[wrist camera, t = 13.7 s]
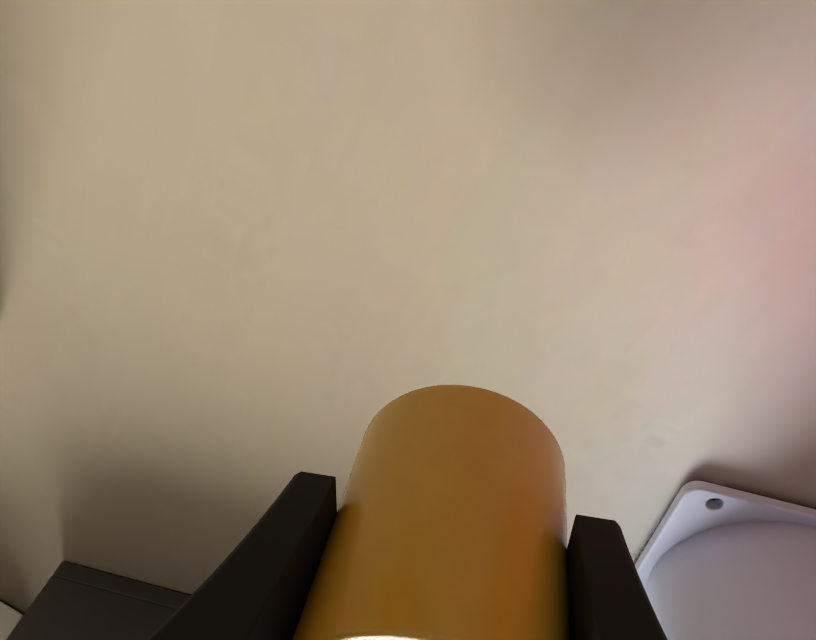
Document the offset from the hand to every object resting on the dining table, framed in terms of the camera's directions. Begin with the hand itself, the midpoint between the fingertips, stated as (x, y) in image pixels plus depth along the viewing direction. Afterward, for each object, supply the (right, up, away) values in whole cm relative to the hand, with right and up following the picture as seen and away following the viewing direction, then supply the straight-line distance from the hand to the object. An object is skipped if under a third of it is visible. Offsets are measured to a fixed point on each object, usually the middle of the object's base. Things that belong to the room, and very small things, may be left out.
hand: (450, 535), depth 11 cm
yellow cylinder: (0, +1, +2) cm, 2 cm away
